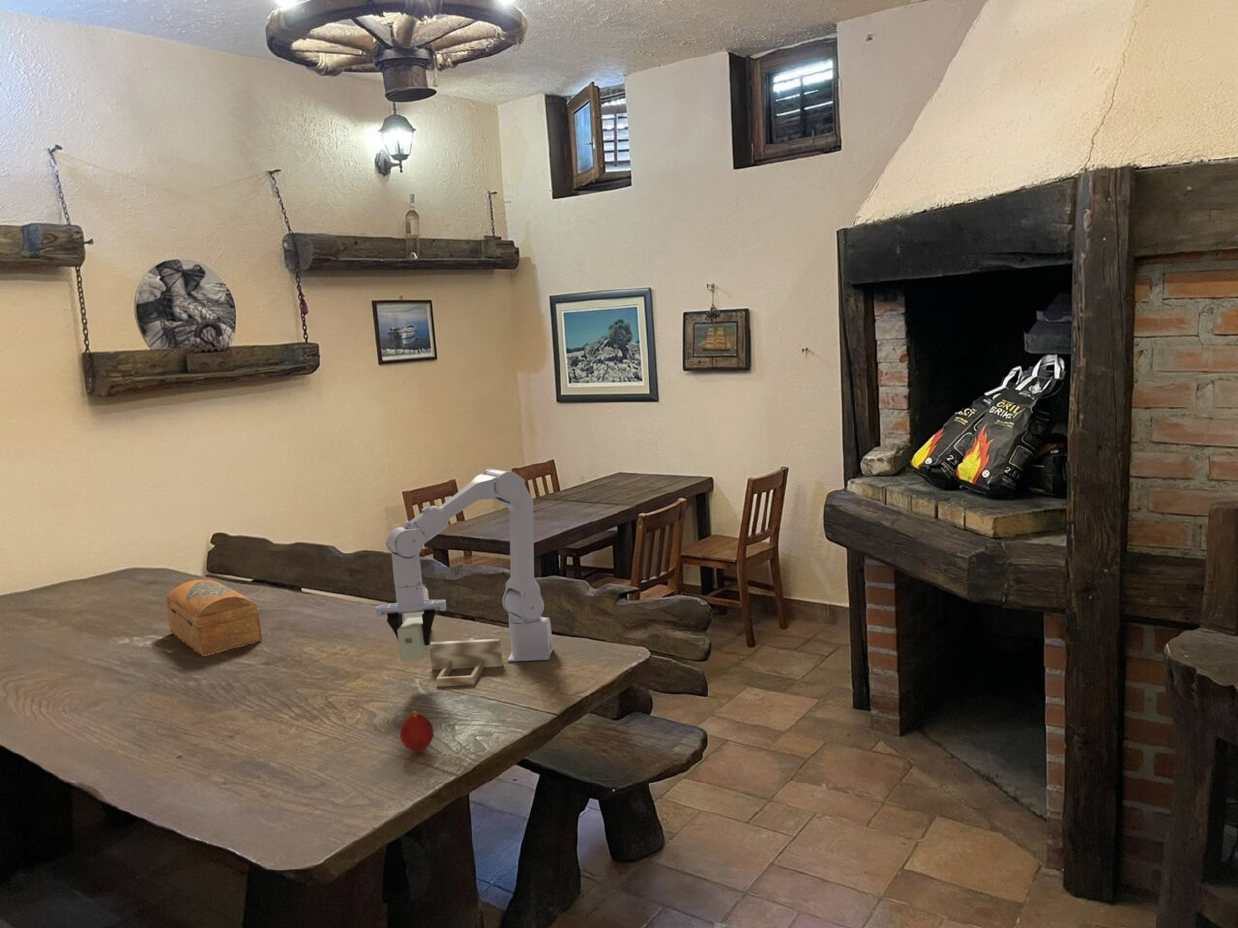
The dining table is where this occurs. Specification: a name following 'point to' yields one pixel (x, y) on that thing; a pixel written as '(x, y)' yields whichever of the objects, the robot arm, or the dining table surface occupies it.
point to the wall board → (464, 659)
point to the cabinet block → (412, 640)
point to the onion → (416, 732)
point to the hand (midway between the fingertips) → (415, 645)
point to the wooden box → (212, 616)
